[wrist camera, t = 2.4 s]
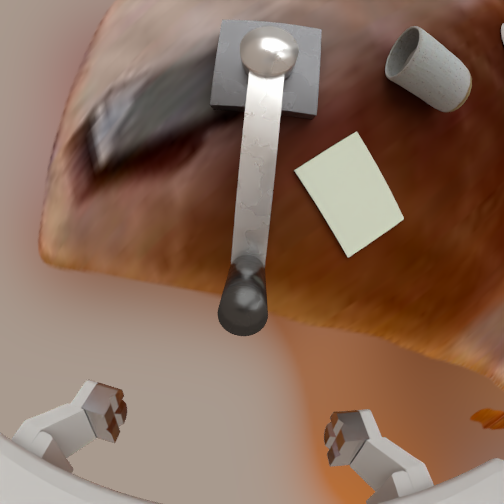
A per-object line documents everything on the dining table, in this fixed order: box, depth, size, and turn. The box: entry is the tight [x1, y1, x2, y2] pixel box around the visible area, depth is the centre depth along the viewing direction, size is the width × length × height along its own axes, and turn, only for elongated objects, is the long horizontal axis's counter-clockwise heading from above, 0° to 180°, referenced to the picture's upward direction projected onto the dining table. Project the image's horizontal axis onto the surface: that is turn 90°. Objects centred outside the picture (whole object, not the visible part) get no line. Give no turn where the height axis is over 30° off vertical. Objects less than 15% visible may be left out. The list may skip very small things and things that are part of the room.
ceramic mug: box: [385, 26, 472, 112], centre depth 20 cm, size 11×8×8 cm
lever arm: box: [218, 26, 299, 336], centre depth 20 cm, size 24×5×10 cm, turn 175°
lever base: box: [210, 20, 322, 120], centre depth 24 cm, size 10×10×2 cm
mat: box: [294, 132, 404, 258], centre depth 28 cm, size 11×8×1 cm
